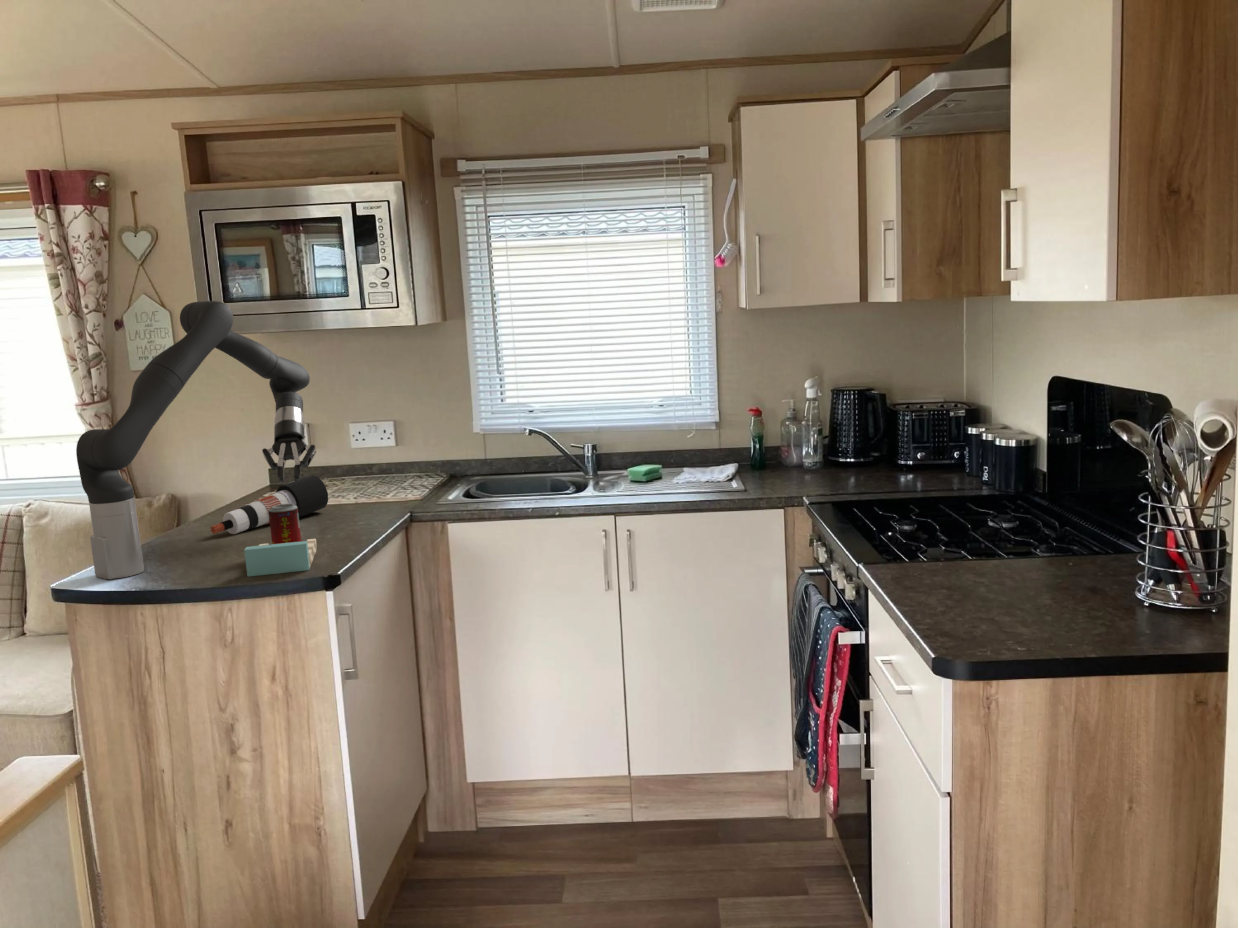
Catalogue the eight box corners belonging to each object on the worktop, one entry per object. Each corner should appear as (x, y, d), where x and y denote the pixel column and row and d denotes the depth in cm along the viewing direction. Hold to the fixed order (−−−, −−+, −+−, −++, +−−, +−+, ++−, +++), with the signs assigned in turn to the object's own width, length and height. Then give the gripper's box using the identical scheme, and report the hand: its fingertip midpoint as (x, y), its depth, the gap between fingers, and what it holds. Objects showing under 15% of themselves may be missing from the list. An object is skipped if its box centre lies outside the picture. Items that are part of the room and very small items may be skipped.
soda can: (297, 548, 241) (292, 501, 240) (306, 553, 236) (301, 505, 234) (269, 553, 238) (264, 506, 236) (278, 558, 232) (272, 510, 230)
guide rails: (260, 554, 237) (259, 544, 237) (316, 548, 240) (315, 538, 240) (248, 574, 219) (247, 563, 219) (309, 567, 222) (308, 557, 221)
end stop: (249, 573, 220) (246, 546, 219) (310, 566, 223) (307, 540, 222) (247, 576, 217) (244, 549, 216) (308, 570, 220) (306, 543, 219)
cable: (213, 553, 261) (195, 520, 261) (315, 514, 288) (299, 483, 288) (230, 540, 255) (212, 505, 255) (333, 500, 282) (316, 469, 282)
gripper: (259, 420, 257) (257, 474, 247) (315, 416, 260) (315, 469, 250) (264, 438, 263) (263, 491, 253) (318, 434, 266) (319, 486, 256)
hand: (289, 479), depth 252 cm, fingers open, 3 cm apart
